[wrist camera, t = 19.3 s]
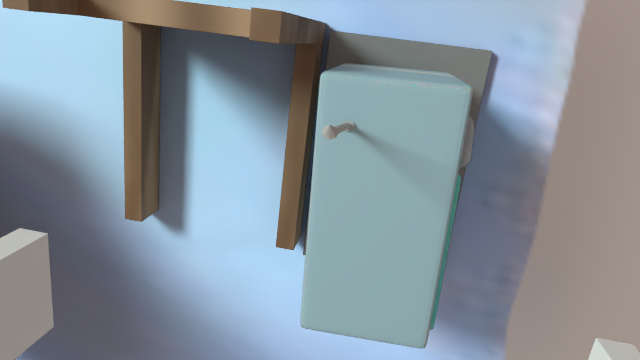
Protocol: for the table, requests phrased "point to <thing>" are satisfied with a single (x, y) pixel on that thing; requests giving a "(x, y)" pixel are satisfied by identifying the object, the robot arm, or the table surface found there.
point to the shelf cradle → (144, 87)
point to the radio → (383, 200)
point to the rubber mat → (412, 63)
